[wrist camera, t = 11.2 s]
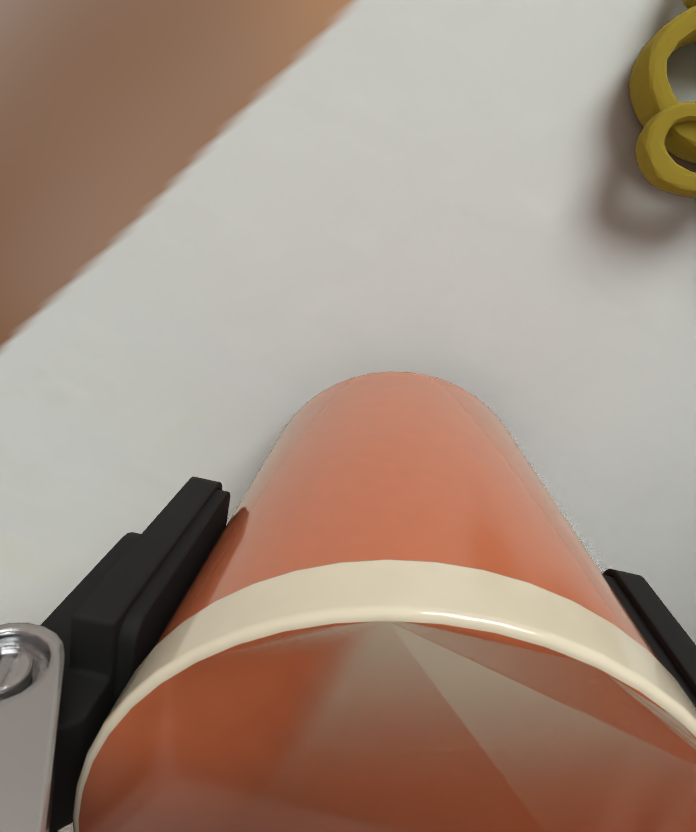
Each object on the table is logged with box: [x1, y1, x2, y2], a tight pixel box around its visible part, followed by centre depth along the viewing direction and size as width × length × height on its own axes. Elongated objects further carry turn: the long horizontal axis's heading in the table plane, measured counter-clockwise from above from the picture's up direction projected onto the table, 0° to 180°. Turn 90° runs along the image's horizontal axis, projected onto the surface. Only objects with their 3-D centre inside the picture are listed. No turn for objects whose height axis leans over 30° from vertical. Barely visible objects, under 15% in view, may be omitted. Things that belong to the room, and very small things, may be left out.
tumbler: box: [73, 372, 696, 832], centre depth 10 cm, size 7×7×9 cm
